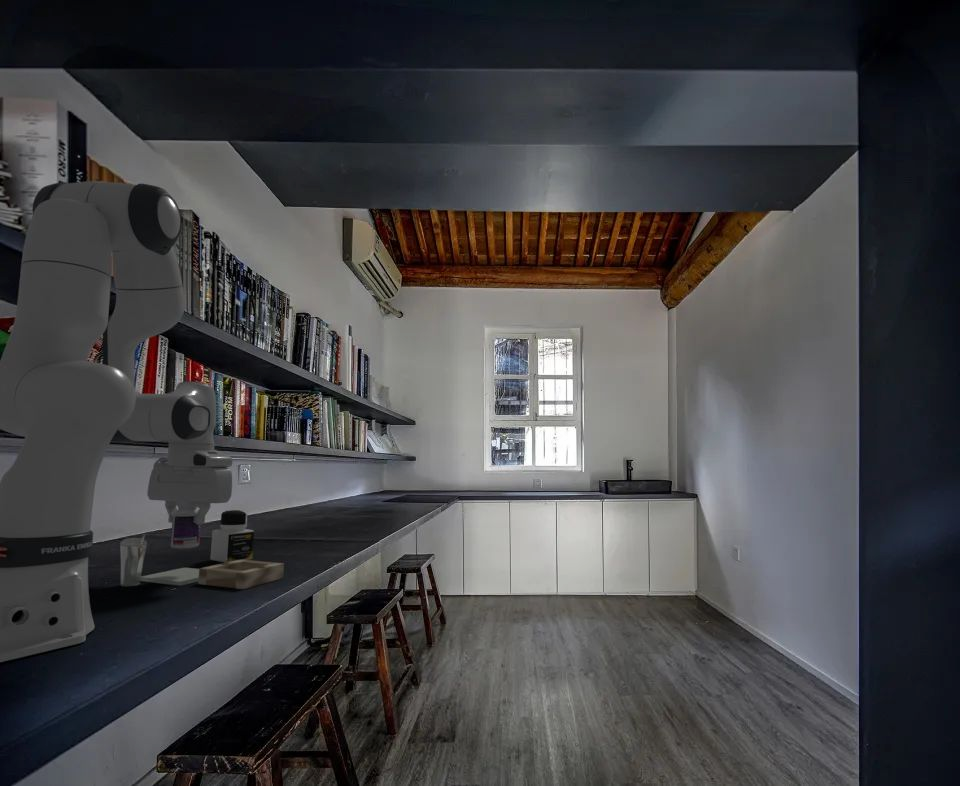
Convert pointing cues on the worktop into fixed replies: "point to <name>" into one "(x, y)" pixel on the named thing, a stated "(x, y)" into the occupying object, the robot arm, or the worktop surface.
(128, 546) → the milkshake
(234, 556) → the medicine bottle
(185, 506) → the pill bottle
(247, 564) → the socket block
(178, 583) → the sage mat
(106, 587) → the worktop surface
